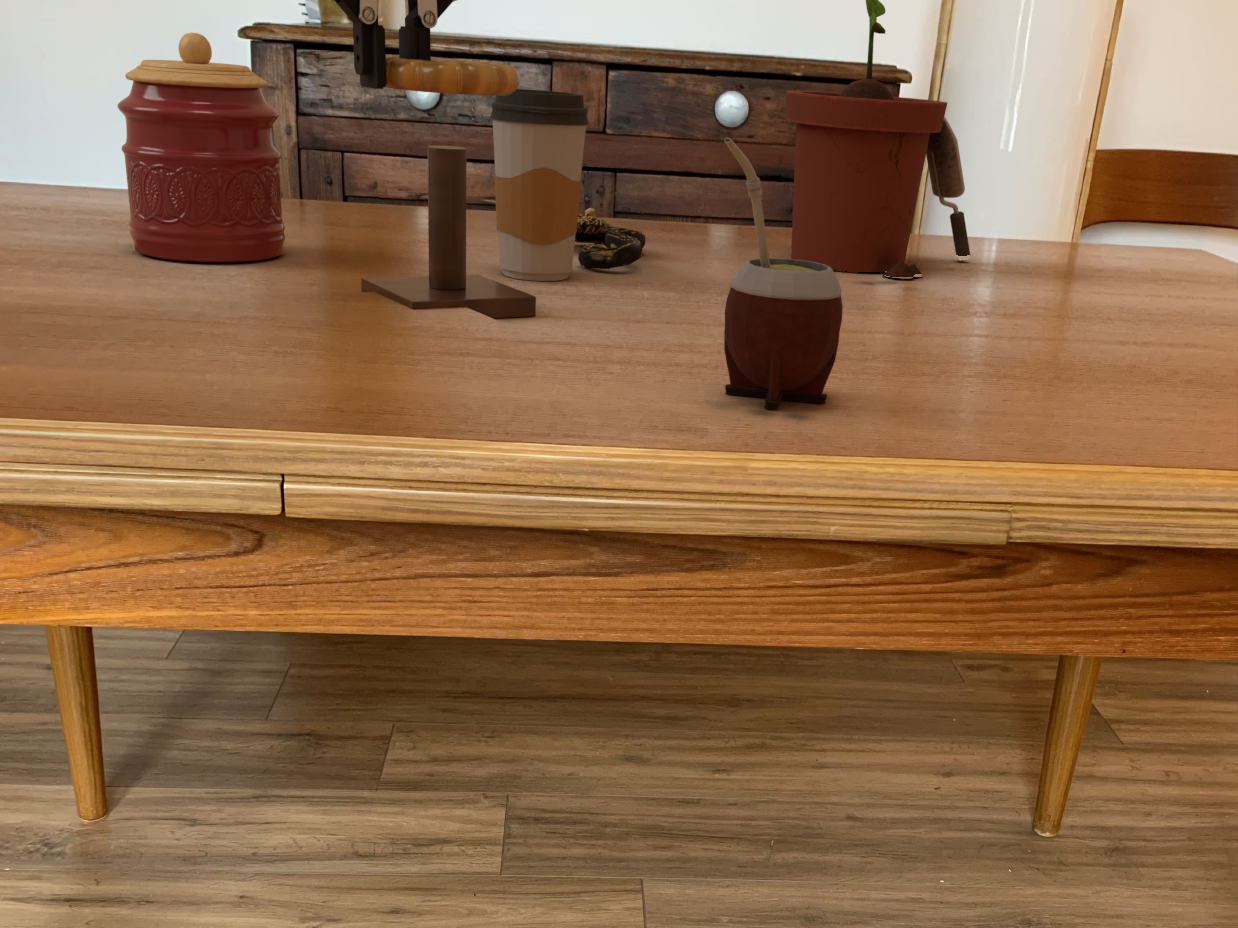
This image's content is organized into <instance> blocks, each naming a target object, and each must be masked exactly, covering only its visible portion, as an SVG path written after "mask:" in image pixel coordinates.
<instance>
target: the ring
mask: <svg viewBox="0 0 1238 928" xmlns="http://www.w3.org/2000/svg"><path fill="white" fill-rule="evenodd" d="M520 79H521V78H520V74H519V72H518V70H517V69H516V68H515V67H514V66H513V65H510V64H507V63H499V62H498V63H497V62H488V61H477V60H466V59H465V60H464V59H450V58H439V57H431V61H428V60H416V59H405V58H399V55H386V87H385V88H388V89H393V90H402V91H411V92H421V93H433V94H434V93H435V94H448V95H464V96H466V95H468V96H489V97H490V96H491V97H493V96H494V97H496V96H506V95H510V94H512V93H513V92H514V91H515V90H516V89H519V86H520Z"/></svg>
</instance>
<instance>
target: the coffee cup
mask: <svg viewBox="0 0 1238 928" xmlns="http://www.w3.org/2000/svg"><path fill="white" fill-rule="evenodd" d="M584 101H585V100H584V94H581V93H575V92H568V91H567V92H566V91H555V90H543V89H542V90H541V89H523V88H517V89H516V90H515V91H514V92H513V93H512V94H510V95H506V96H495V101H493V102H491V113H490V119H491V120H492V132H493V133H492V135H493V155H494V175H493V178H494V179H493V181H494V194H495V195H494V197H495V217H496V219H495V220H496V230H497V238H498V259H499V268H501V269H502V275H504V276H505V277H508V278H511V279H512V278H513V279H515V280H516V279H518V280H522V281H523V280H524V281H538V282H553V281H563V280H567V279H569V275H570V274H569V273H570V272H572V271H573V263H574V252H575V244H576V242H575V234H576V232H577V222H578V214H579V210H580V200H581V190H582V171H583V160H584V153H585V152H584V151H585V141H586V130H587V126H588V125H589V121H588V113H589V112H588V108H586V107H585V102H584Z"/></svg>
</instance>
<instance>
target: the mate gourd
mask: <svg viewBox="0 0 1238 928" xmlns="http://www.w3.org/2000/svg"><path fill="white" fill-rule="evenodd" d="M723 141H724V144H725V145H726V147H727V148H728V149H729V151H730V152H731V153H732V156H734V158H735V159H736V160H737V162H738V164H739V165H740V167H741V169H742V171H743V173H744V175H745V177H746V182H745V185H746V189H747V194H748V195H747V196H748V198H750V200H751V205H752V206H751V208H752V214H753V221H754V229H755V236H756V243H757V250H758V251H757V252H758V258H752V259H748V260H747V261H745V263H744V264H743V265H742V266H741V268H740V269H739V271H738V272H737V273H736V274H735V276H734V277H733V279H732V280H731V283H730V289H729V291H728V294H727V297H726V302H725V308H724V333H723V335H724V340H723V341H724V342H723V345H724V347H723V349H724V356H725V362H726V366H727V371H728V378H729V383H727V384H725V385H724V388H725V394H726V395H730V396H739V397H740V396H741V397H751V398H759V399H764V400H765V402H764V409H765V410H773V411H774V410H775V411H777V410H778V409H779V407H780V405H781V403H782V401H787V402H797V403H808V404H809V403H810V404H816V405H817V404H819V405H825V404H826V401H827V397H828V394H827V393H823V392H824V389H825V387H826V384H827V382H828V379H829V378H830V375H831V373H832V370H833V367H834V365H835V362H836V358H837V353H838V349H839V348H838V347H839V343H840V332H841V326H842V321H843V299H842V287H841V284H840V282H839V279H838V277H837V275H836V273H835V271H833V270H832V269H831V268H830V267H829V266H826V265H824V264H820V263H816V262H810V261H803V260H794V259H791V258H781V257H779V258H778V257H777V258H776V257H770V253H769V248H768V240H767V234H766V225H765V218H764V209H763V202H762V195H763V193H764V192H763V188H762V183H761V179H760V177H759V176H757V173H756V170H755V169H754V166H753V165H752V163H751V161H750V160H749V158H748V157H747V156H746V155H745V153H744V152H743V151H742V150H741V149H740V148H739V146H738V145H737V144H736V143H735V142H734V141H733V139H731V138H730V137H729V136H727V137H725V138H723Z"/></svg>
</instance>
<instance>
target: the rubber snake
mask: <svg viewBox="0 0 1238 928" xmlns="http://www.w3.org/2000/svg"><path fill="white" fill-rule="evenodd" d="M576 243H577V244H587V245H583V246H582V247H581V248H580V249H579V251H578V254H577V255H578V256H577V260H578V263H579V264H580V266H582V267H584V268H585V269H598V270H610V269H613V268H619V267H624V266H630V265H631V264H633V263H635V262H637V261H639V260H640V259H641V258H642V256H643V249H644V247H645V245H646V235H645V234H644V232H642V231H640V230H635V229H629V228H626V227H619V226H612V225H611V224H610V223H607V222H606V220H604V219H602V218H598V217H596V209H595V208H593V207H589V208H587V209H586V210H585V211H584V214H583V213H578V222H577V232H576V234H575V244H576Z"/></svg>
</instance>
